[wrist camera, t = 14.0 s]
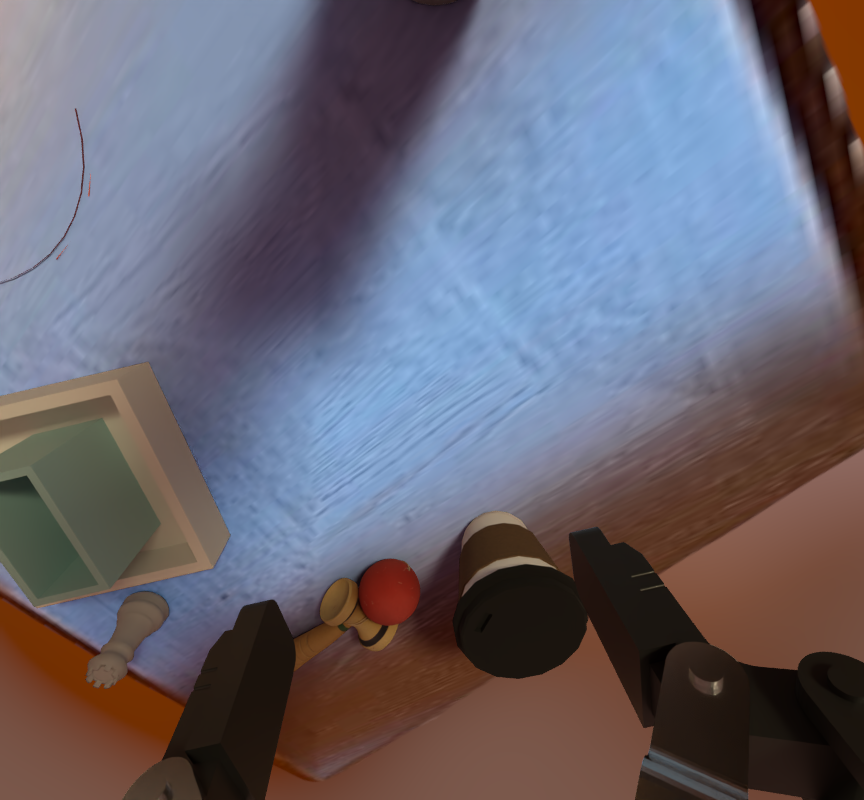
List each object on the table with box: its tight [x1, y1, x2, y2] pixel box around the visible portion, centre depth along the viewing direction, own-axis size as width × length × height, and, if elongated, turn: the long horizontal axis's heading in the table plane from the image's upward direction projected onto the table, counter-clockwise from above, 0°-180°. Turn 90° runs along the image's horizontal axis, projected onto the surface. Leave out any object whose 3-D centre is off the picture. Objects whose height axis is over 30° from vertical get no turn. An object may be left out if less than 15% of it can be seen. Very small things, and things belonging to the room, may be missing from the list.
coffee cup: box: [453, 511, 588, 679], centre depth 41 cm, size 11×11×12 cm
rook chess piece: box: [86, 591, 169, 689], centre depth 43 cm, size 4×4×8 cm
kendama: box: [293, 559, 420, 671], centre depth 46 cm, size 8×6×18 cm
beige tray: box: [0, 362, 230, 608], centre depth 39 cm, size 18×16×4 cm
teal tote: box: [0, 418, 161, 607], centre depth 36 cm, size 11×6×8 cm, turn 13°
